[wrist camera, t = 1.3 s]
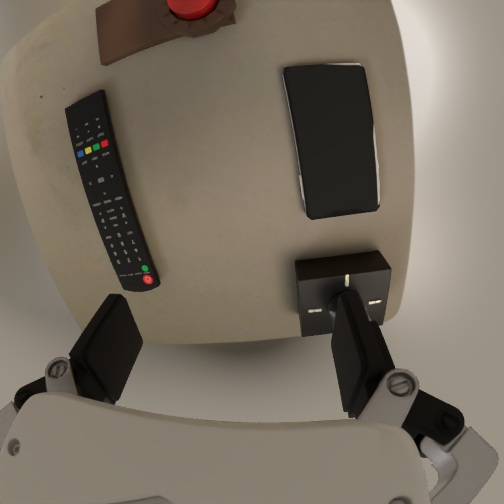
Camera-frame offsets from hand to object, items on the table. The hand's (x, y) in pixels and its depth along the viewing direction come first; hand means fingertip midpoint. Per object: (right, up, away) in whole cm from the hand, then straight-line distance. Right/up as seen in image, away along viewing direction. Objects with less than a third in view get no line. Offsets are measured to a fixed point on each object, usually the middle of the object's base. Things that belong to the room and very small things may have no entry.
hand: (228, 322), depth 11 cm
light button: (-4, +25, +4) cm, 26 cm away
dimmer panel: (+11, -1, +20) cm, 23 cm away
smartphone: (+9, +14, +13) cm, 21 cm away
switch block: (-8, +27, +7) cm, 29 cm away
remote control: (-15, +9, +17) cm, 24 cm away
